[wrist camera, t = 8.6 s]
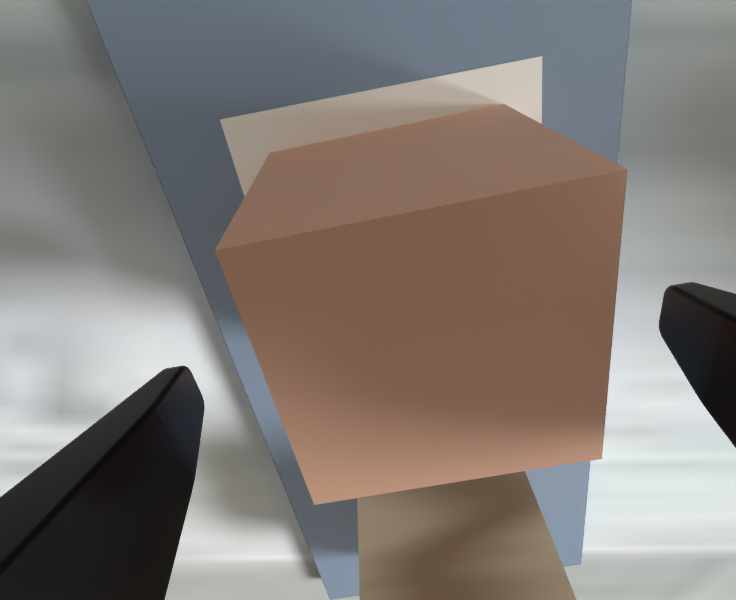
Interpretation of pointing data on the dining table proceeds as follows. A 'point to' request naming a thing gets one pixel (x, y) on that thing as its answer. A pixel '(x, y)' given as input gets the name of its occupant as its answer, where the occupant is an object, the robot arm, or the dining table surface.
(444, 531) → the beech block
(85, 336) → the dining table surface
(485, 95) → the baseplate
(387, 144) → the terracotta block
